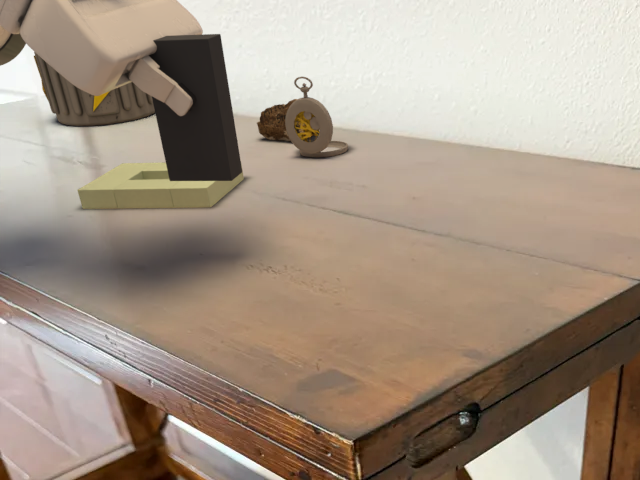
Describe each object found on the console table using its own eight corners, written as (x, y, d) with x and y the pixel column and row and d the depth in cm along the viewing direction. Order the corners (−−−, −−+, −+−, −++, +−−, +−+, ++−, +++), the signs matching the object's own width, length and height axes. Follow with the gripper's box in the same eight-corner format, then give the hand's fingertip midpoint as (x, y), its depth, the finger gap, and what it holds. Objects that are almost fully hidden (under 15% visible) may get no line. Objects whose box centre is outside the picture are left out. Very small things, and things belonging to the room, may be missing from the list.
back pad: (169, 181, 74) (139, 40, 67) (182, 172, 76) (154, 36, 70) (231, 180, 73) (208, 38, 66) (242, 172, 75) (220, 33, 69)
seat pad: (83, 212, 96) (76, 189, 94) (127, 183, 105) (121, 163, 103) (211, 210, 93) (206, 187, 92) (244, 181, 102) (241, 160, 101)
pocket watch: (344, 146, 114) (336, 65, 108) (354, 160, 108) (346, 74, 102) (286, 153, 113) (275, 71, 107) (293, 167, 107) (281, 81, 101)
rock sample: (339, 102, 119) (297, 65, 113) (339, 148, 118) (296, 113, 111) (289, 133, 126) (246, 100, 119) (288, 176, 124) (245, 145, 117)
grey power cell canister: (58, 112, 150) (-1, -94, 131) (162, 100, 152) (118, -103, 134) (48, 132, 135) (-21, -97, 117) (163, 119, 138) (113, -106, 119)
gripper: (103, -6, 76) (221, 108, 81) (-22, 20, 60) (133, 160, 65) (135, -68, 73) (256, 55, 77) (11, -57, 57) (173, 96, 61)
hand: (199, 103), depth 71 cm, fingers closed on back pad, 3 cm apart
